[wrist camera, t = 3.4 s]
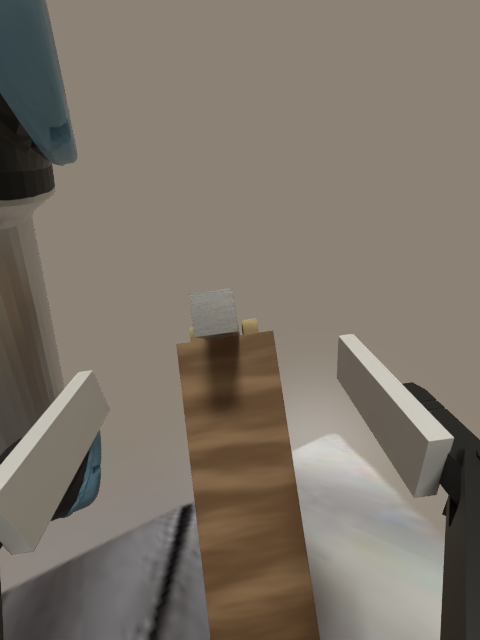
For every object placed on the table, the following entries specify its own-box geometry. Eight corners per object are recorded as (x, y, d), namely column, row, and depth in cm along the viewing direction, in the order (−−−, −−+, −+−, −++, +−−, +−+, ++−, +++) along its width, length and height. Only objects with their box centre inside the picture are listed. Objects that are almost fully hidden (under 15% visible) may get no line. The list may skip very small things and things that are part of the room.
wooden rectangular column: (322, 653, 24) (270, 316, 27) (214, 669, 24) (174, 329, 27) (290, 529, 40) (259, 326, 43) (225, 538, 40) (199, 335, 43)
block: (237, 331, 18) (231, 288, 18) (194, 337, 18) (188, 294, 18) (240, 338, 42) (237, 320, 42) (221, 341, 42) (219, 322, 42)
